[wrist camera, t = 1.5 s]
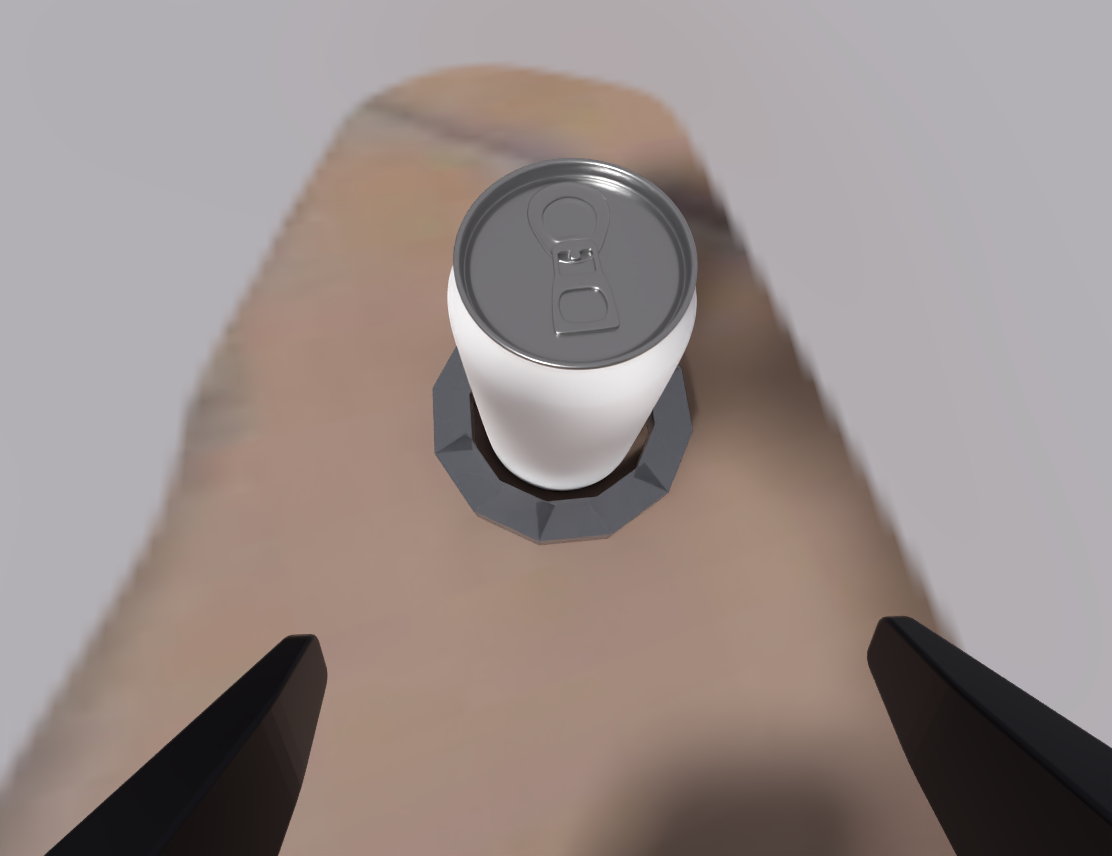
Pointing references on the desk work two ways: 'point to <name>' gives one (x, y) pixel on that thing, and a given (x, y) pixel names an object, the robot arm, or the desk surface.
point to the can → (570, 314)
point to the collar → (561, 516)
